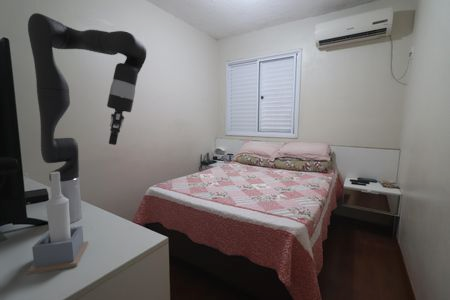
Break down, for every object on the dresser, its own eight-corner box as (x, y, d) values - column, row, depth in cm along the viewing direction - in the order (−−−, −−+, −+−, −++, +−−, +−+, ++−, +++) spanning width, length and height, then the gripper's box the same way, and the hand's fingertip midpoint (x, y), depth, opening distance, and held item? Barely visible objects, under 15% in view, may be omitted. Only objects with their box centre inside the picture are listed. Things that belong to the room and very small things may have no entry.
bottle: (46, 257, 61) (38, 173, 57) (65, 247, 66) (58, 169, 62) (58, 261, 59) (50, 176, 56) (76, 251, 64) (70, 171, 60)
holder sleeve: (48, 249, 66) (45, 229, 65) (88, 244, 69) (86, 224, 68) (28, 274, 56) (25, 250, 55) (76, 266, 59) (74, 243, 58)
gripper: (110, 93, 76) (101, 137, 77) (108, 91, 63) (98, 143, 65) (132, 99, 79) (123, 141, 81) (135, 98, 67) (124, 147, 68)
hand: (112, 142), depth 73 cm, fingers open, 8 cm apart
